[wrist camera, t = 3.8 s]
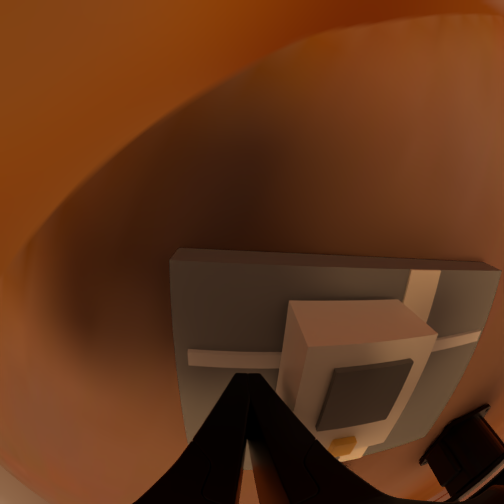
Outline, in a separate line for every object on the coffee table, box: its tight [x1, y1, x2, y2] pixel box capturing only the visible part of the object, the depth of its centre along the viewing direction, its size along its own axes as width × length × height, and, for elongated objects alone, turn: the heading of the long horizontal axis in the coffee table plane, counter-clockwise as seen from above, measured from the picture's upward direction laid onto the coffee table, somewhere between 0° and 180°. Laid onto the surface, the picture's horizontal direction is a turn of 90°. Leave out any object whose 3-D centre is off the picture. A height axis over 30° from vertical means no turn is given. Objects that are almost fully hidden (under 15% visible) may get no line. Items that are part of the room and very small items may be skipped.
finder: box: [276, 299, 438, 457], centre depth 8 cm, size 4×5×3 cm
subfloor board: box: [169, 248, 501, 470], centre depth 11 cm, size 15×12×2 cm
